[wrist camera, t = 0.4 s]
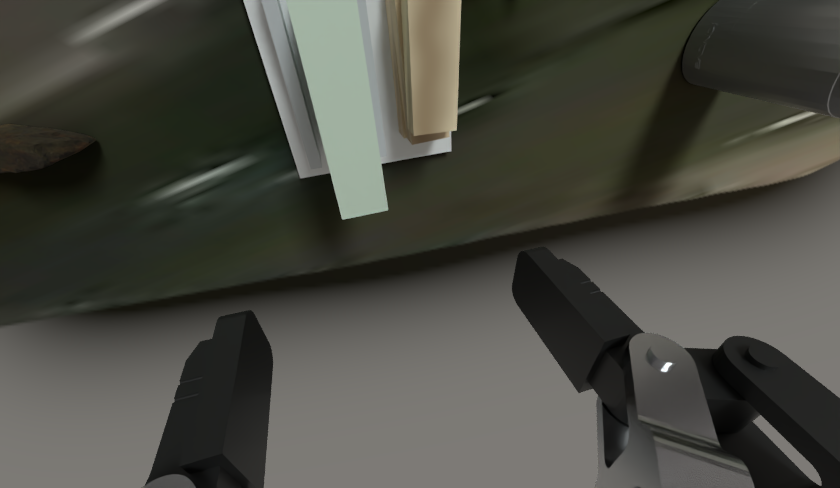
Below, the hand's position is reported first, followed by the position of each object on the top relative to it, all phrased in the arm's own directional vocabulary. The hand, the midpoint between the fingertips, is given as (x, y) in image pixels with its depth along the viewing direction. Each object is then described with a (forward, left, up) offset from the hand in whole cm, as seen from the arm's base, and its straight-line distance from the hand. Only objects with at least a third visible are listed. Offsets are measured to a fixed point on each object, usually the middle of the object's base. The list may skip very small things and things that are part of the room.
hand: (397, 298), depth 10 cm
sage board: (0, -2, -25) cm, 25 cm away
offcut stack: (-8, -2, -25) cm, 27 cm away
